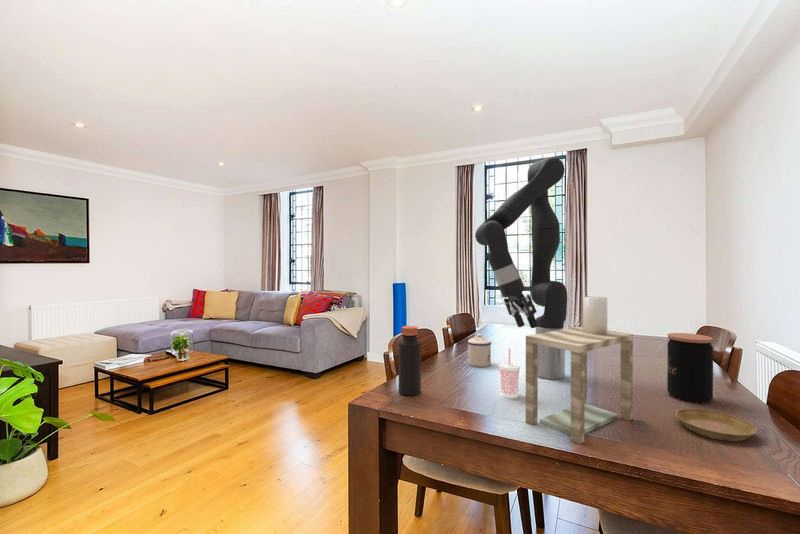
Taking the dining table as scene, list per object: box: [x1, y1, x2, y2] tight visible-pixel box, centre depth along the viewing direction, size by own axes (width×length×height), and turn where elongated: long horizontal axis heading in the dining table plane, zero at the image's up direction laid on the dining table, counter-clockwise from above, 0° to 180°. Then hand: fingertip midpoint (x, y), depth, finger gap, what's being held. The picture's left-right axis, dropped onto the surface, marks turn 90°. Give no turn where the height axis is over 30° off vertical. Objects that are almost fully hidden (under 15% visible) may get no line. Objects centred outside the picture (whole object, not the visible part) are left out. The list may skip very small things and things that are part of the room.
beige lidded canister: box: [467, 333, 492, 368], centre depth 150 cm, size 12×9×12 cm
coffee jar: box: [666, 332, 714, 404], centre depth 111 cm, size 11×11×18 cm
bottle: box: [398, 325, 422, 397], centre depth 116 cm, size 7×7×20 cm
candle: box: [582, 296, 608, 334], centre depth 99 cm, size 6×6×9 cm
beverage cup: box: [498, 348, 521, 399], centre depth 113 cm, size 6×6×14 cm
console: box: [525, 326, 634, 445], centre depth 95 cm, size 24×14×22 cm, turn 124°
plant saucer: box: [675, 408, 758, 442], centre depth 90 cm, size 15×15×3 cm
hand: (527, 326), depth 122 cm, fingers open, 8 cm apart
